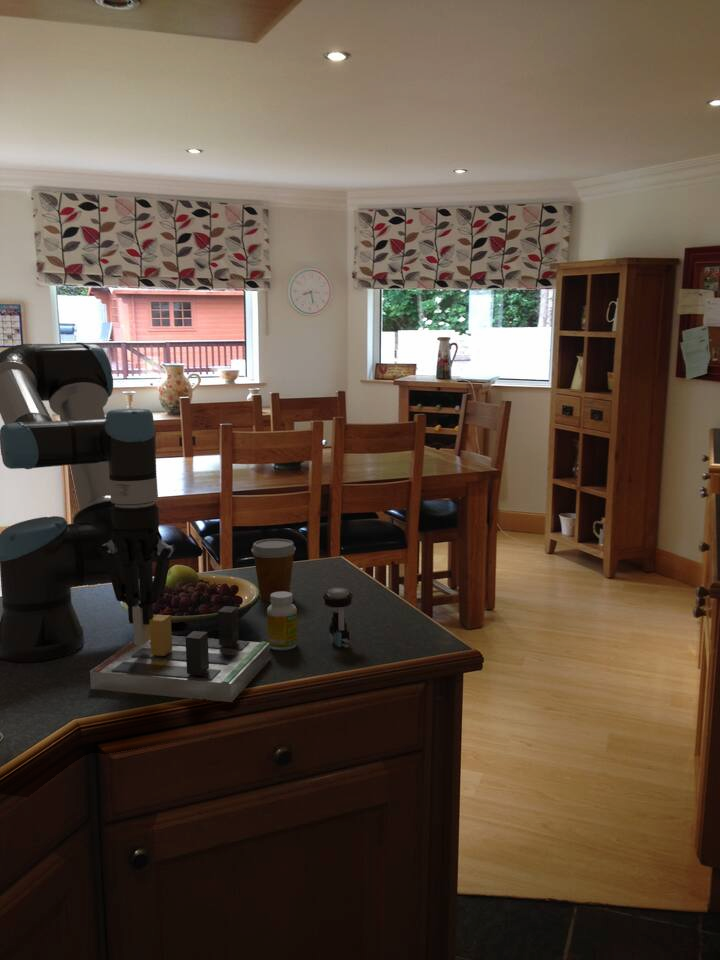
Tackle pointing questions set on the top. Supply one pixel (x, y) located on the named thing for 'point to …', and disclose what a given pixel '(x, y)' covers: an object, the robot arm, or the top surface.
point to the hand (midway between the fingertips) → (142, 641)
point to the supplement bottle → (282, 621)
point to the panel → (182, 683)
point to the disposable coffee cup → (273, 565)
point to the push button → (338, 615)
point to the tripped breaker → (160, 635)
